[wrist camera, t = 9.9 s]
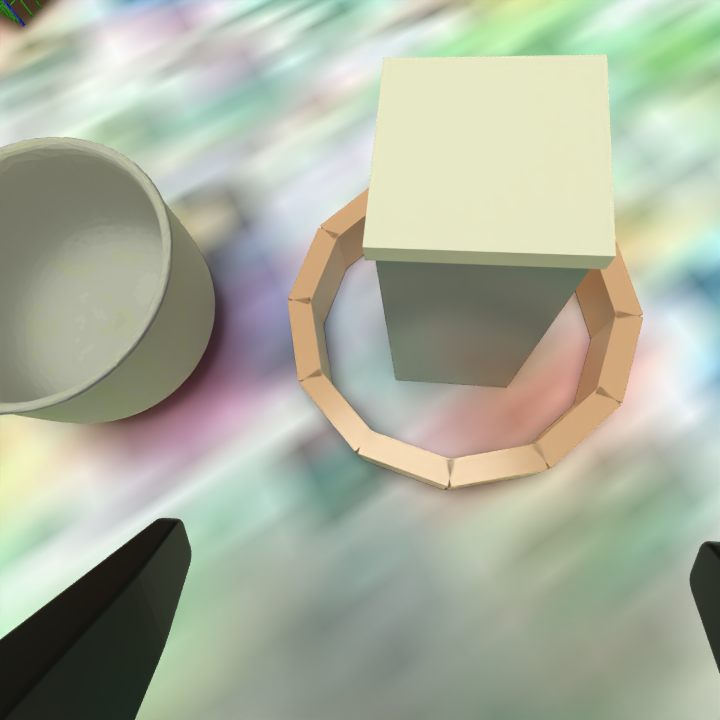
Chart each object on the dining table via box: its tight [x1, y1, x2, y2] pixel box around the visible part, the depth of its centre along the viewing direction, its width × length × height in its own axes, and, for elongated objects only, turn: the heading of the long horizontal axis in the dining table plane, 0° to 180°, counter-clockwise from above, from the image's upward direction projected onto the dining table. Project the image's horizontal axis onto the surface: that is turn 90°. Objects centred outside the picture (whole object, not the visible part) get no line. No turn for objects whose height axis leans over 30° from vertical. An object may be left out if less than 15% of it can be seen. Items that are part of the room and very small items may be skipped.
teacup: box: [0, 137, 215, 423], centre depth 22 cm, size 14×11×8 cm
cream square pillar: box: [362, 55, 616, 387], centre depth 18 cm, size 5×5×13 cm
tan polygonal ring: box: [288, 188, 643, 490], centre depth 22 cm, size 14×14×3 cm
